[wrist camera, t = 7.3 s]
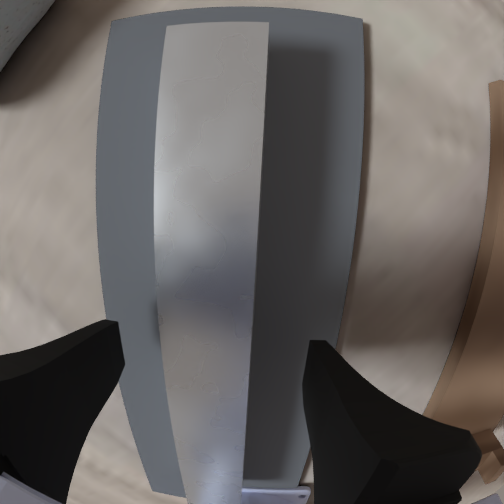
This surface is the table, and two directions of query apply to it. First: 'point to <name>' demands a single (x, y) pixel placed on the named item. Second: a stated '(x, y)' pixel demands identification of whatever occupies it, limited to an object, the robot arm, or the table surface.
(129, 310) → the rubber mat
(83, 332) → the robot arm
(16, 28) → the ceramic mug
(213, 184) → the steel rail
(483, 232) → the walnut standards
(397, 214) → the table surface
